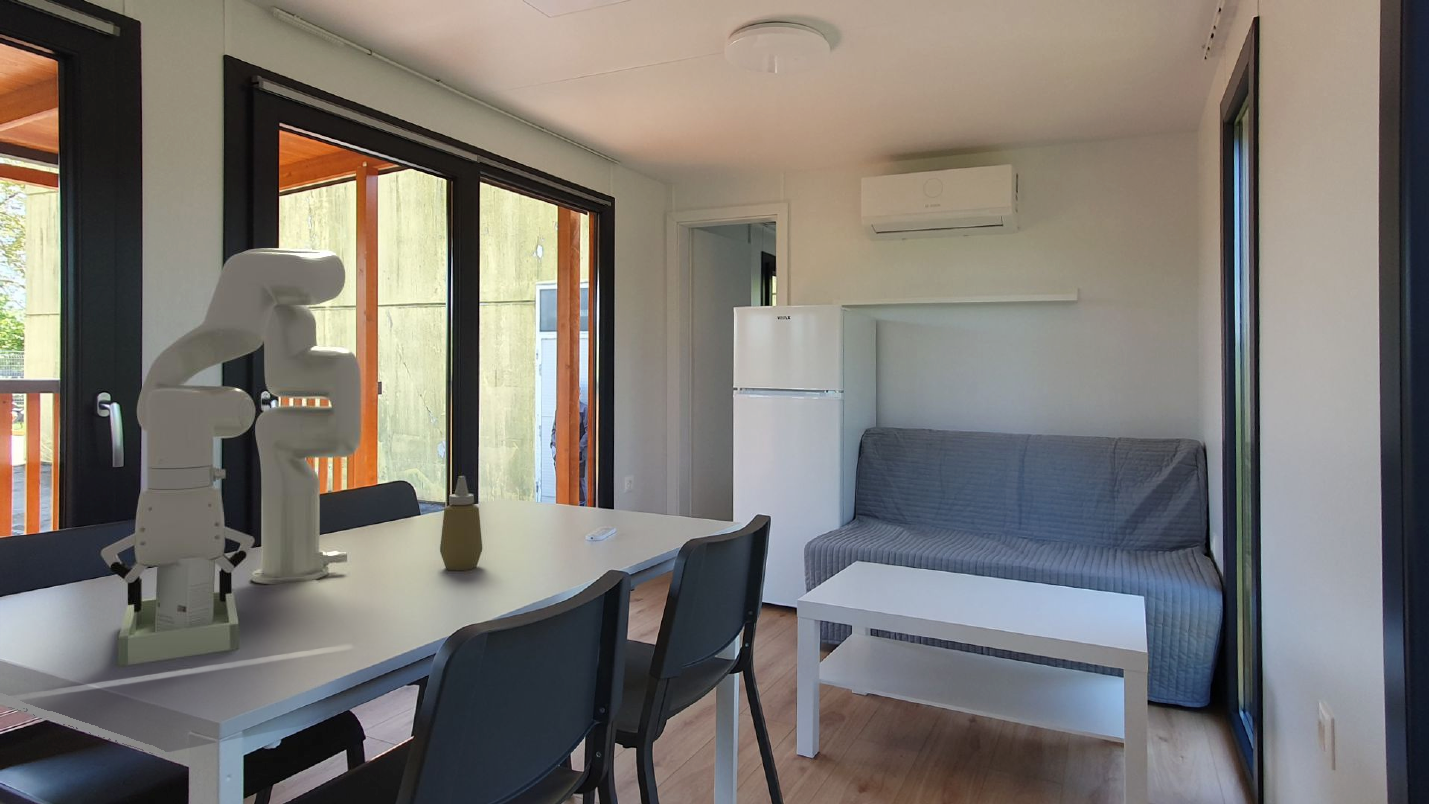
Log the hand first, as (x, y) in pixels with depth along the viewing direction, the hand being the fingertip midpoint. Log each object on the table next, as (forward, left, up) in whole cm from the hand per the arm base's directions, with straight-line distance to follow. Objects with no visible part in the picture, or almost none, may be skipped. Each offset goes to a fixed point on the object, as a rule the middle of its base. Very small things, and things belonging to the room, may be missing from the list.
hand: (181, 604), depth 109 cm
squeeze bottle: (-45, -28, -6) cm, 54 cm away
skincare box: (0, 0, -6) cm, 6 cm away
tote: (0, -4, -6) cm, 7 cm away
